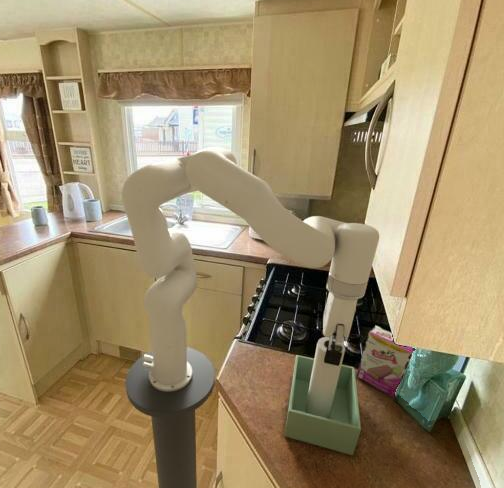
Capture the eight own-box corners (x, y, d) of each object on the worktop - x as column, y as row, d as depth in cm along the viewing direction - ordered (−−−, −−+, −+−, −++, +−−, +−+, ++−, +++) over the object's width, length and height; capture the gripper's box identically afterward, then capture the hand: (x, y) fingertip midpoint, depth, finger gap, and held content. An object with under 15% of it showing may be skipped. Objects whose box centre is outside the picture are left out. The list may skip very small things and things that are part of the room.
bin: (284, 436, 74) (288, 410, 70) (292, 377, 90) (296, 354, 87) (352, 455, 70) (361, 429, 66) (348, 390, 87) (354, 367, 83)
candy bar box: (355, 377, 91) (367, 331, 84) (362, 369, 94) (375, 324, 87) (395, 400, 84) (412, 352, 77) (402, 390, 87) (419, 343, 80)
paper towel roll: (323, 426, 76) (339, 357, 67) (300, 412, 79) (313, 345, 70) (335, 407, 81) (351, 341, 72) (313, 395, 84) (326, 330, 75)
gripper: (327, 264, 73) (315, 324, 80) (327, 301, 58) (312, 371, 65) (361, 269, 71) (346, 330, 78) (371, 309, 56) (350, 380, 63)
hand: (331, 349), depth 72 cm, fingers open, 9 cm apart
